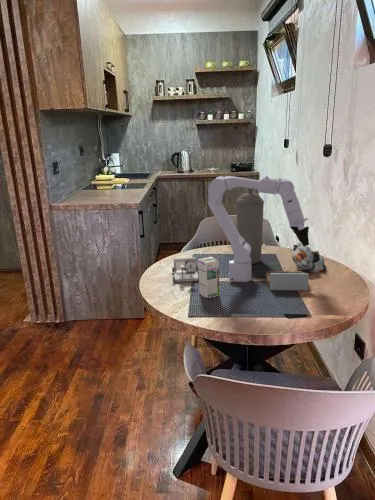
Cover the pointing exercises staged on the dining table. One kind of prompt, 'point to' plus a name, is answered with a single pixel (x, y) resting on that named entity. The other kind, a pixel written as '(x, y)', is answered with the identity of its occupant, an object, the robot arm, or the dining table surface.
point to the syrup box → (209, 277)
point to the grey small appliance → (185, 270)
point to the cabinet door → (289, 281)
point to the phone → (295, 315)
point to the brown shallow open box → (280, 272)
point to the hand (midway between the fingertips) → (304, 243)
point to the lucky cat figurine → (308, 259)
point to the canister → (251, 222)
